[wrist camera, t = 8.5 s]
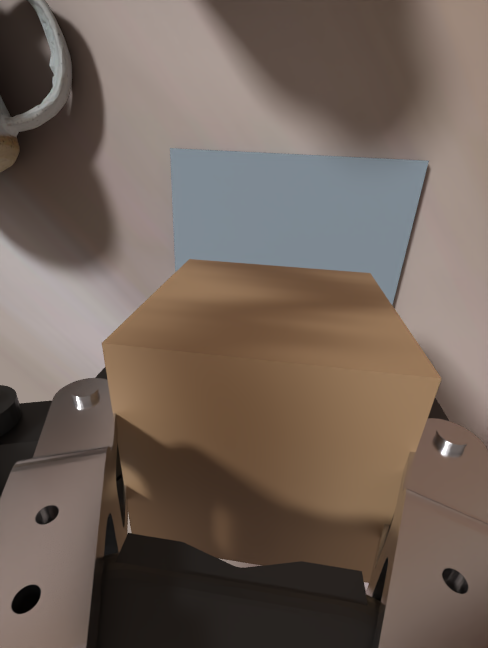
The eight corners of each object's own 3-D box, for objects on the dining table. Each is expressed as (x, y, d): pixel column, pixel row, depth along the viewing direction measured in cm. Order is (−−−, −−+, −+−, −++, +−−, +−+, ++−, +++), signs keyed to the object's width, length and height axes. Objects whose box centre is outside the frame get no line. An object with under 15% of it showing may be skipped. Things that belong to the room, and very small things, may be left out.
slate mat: (425, 160, 16) (428, 160, 15) (371, 378, 21) (373, 382, 21) (172, 148, 17) (170, 148, 17) (181, 356, 22) (179, 359, 22)
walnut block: (370, 273, 10) (441, 378, 5) (340, 417, 13) (369, 583, 8) (189, 258, 11) (101, 343, 6) (193, 400, 13) (133, 544, 8)
